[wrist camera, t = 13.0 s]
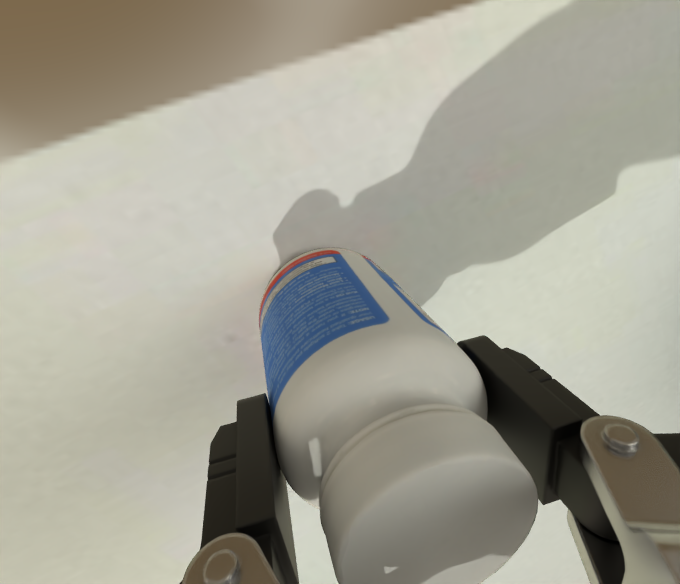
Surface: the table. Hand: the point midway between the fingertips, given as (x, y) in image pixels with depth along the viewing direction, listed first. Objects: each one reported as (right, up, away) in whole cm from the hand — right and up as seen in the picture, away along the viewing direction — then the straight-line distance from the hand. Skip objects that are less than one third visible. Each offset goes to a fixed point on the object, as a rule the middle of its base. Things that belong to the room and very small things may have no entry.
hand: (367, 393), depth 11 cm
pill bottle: (-1, +2, +5) cm, 6 cm away
